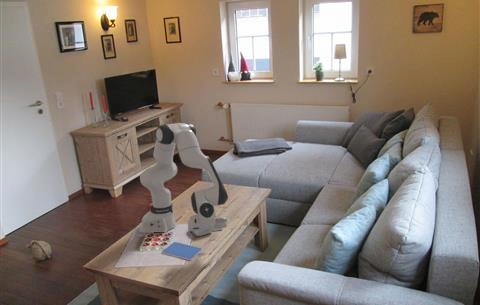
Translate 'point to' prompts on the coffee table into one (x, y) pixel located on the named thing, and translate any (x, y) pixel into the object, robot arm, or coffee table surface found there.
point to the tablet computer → (182, 251)
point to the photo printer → (202, 232)
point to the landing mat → (214, 229)
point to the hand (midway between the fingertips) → (207, 229)
